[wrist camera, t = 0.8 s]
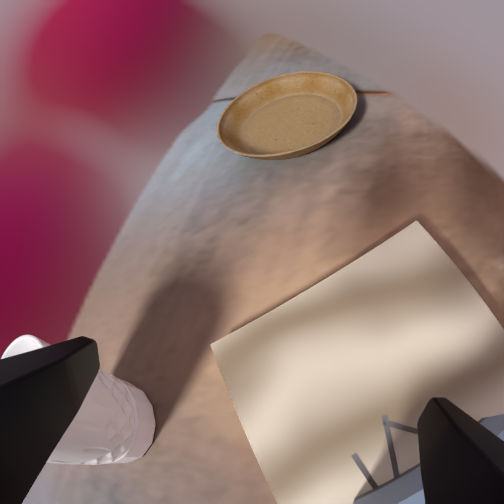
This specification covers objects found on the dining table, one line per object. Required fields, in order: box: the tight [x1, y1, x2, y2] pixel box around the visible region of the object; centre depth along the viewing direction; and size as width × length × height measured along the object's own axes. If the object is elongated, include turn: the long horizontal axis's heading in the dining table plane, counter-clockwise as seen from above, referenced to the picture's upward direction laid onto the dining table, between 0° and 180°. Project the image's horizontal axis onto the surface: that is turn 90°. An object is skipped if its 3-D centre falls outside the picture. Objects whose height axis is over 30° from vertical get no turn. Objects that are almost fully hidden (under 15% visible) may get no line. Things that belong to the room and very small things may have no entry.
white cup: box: [1, 335, 156, 465], centre depth 17 cm, size 8×8×10 cm
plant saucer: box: [217, 71, 357, 160], centre depth 31 cm, size 15×15×3 cm
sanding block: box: [353, 414, 504, 504], centre depth 9 cm, size 4×8×6 cm, turn 114°
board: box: [210, 220, 504, 504], centre depth 15 cm, size 20×16×2 cm
